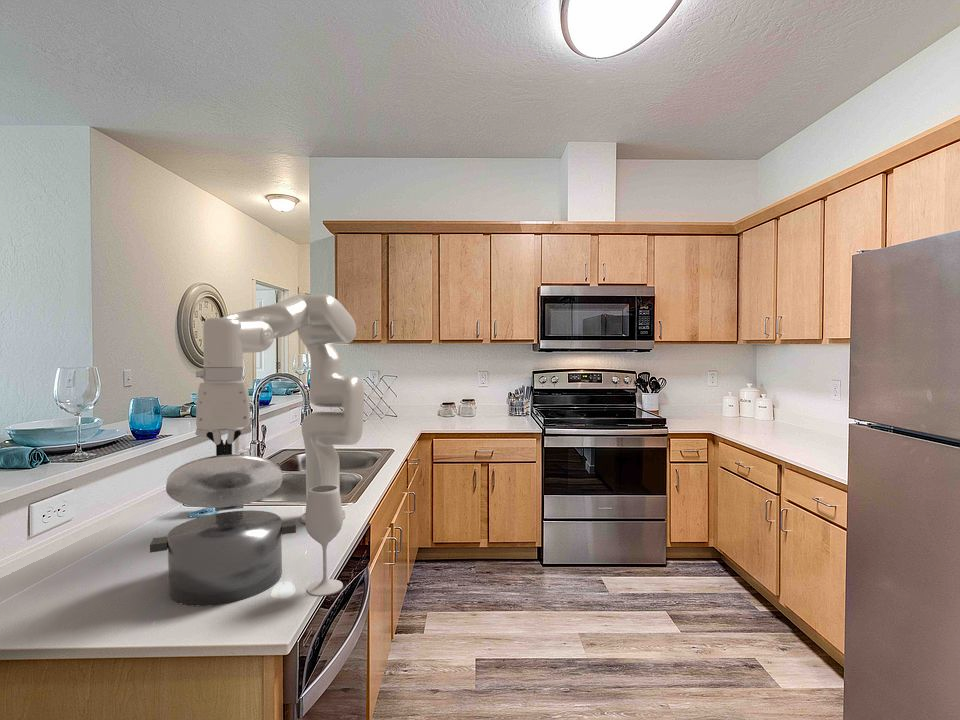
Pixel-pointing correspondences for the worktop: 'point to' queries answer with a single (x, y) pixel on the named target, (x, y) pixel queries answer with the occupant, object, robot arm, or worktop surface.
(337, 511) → the wineglass
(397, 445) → the worktop surface
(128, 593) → the worktop surface
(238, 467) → the lid
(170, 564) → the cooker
